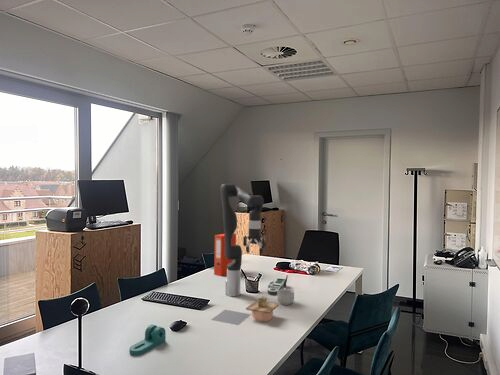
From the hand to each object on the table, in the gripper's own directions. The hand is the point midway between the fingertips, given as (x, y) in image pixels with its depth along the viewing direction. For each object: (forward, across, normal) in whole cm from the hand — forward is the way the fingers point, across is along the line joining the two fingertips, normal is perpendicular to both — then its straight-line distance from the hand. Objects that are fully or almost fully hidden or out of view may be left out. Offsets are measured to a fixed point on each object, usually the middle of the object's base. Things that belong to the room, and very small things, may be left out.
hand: (254, 253), depth 229 cm
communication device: (+33, +2, +33) cm, 47 cm away
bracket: (+32, -23, -74) cm, 84 cm away
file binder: (+32, -50, +57) cm, 82 cm away
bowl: (+32, +13, -18) cm, 39 cm away
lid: (+26, +13, -18) cm, 34 cm away
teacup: (+32, +17, +12) cm, 38 cm away
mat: (+32, -3, -25) cm, 41 cm away
